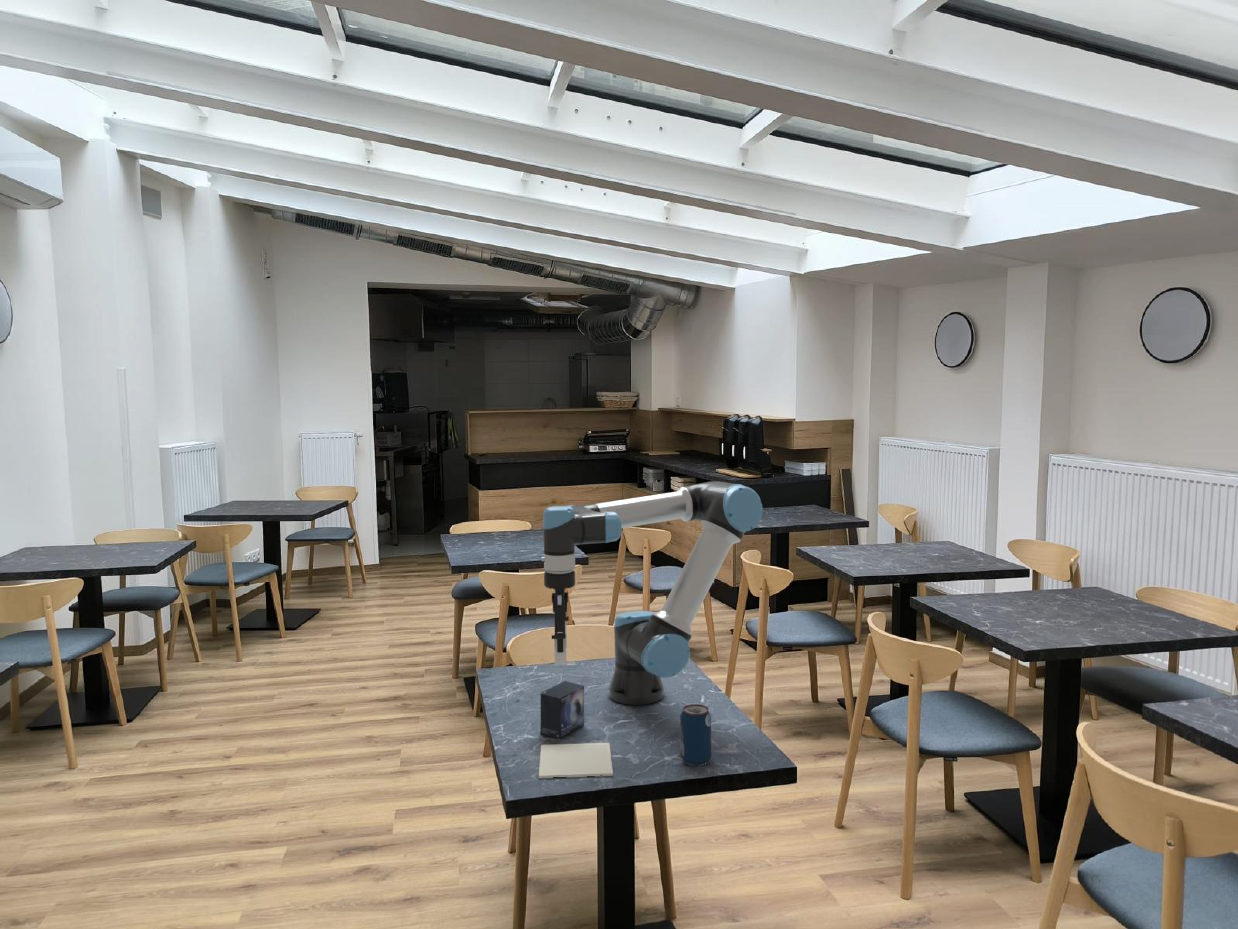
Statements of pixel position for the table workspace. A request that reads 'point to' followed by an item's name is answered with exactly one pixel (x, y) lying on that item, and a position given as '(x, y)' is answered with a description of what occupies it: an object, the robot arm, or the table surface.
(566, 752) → the mat
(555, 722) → the small box
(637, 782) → the table surface
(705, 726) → the soda can
